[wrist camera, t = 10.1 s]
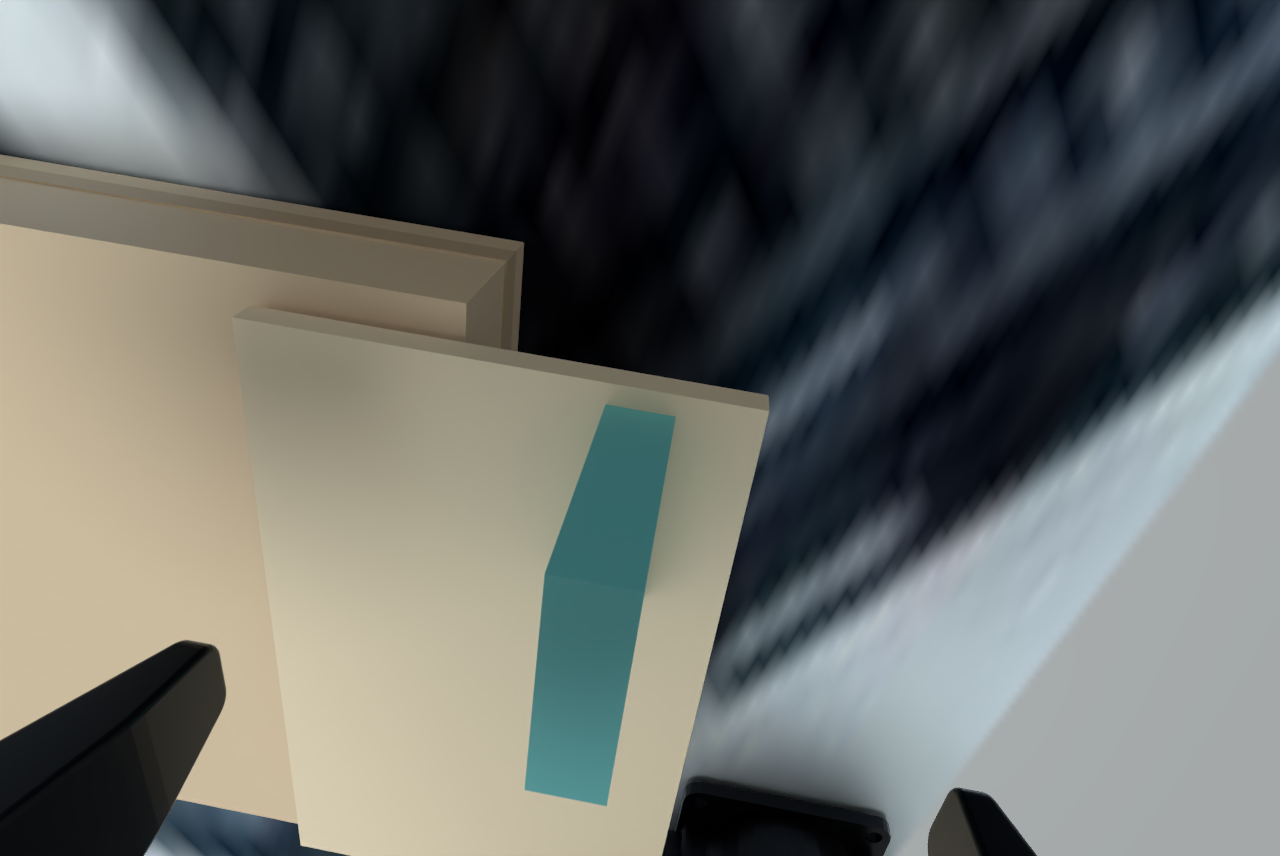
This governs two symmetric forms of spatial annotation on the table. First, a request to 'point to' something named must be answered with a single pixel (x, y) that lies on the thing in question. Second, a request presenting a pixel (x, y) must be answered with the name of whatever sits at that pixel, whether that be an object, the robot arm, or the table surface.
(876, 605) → the table surface
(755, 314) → the table surface
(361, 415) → the flap
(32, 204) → the carton
